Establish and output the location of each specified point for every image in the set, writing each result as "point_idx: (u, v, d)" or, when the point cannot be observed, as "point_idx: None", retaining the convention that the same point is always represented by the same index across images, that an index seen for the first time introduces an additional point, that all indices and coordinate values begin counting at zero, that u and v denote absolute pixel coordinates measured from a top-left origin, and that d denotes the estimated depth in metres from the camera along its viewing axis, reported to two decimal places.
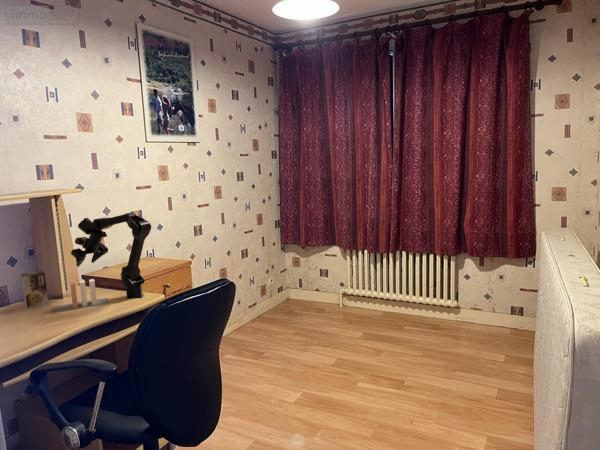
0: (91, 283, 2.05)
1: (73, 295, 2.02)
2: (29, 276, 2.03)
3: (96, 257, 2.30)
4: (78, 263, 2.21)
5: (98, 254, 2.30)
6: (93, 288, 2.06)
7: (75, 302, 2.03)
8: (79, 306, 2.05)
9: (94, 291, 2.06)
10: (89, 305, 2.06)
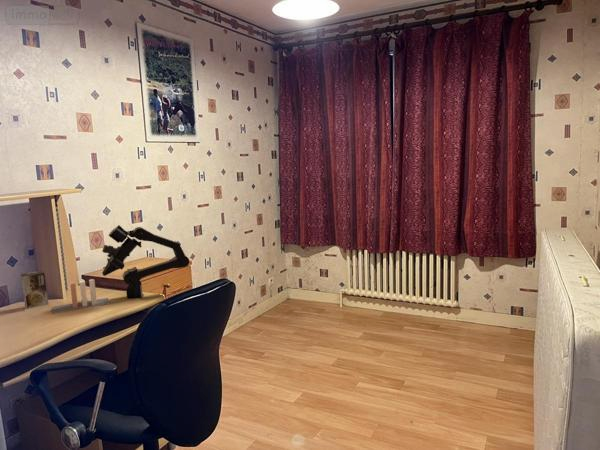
0: (91, 283, 2.05)
1: (73, 295, 2.02)
2: (29, 276, 2.03)
3: None
4: (109, 272, 2.08)
5: None
6: (93, 288, 2.06)
7: (75, 302, 2.03)
8: (79, 306, 2.05)
9: (94, 291, 2.06)
10: (89, 305, 2.06)
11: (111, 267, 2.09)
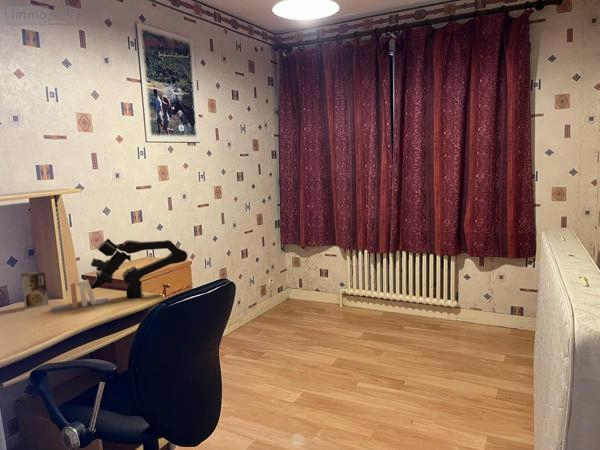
0: (86, 284, 2.04)
1: (73, 295, 2.02)
2: (29, 276, 2.03)
3: None
4: (97, 285, 2.08)
5: None
6: (89, 288, 2.05)
7: (75, 302, 2.03)
8: (79, 306, 2.05)
9: (91, 291, 2.06)
10: (89, 305, 2.06)
11: (99, 280, 2.08)
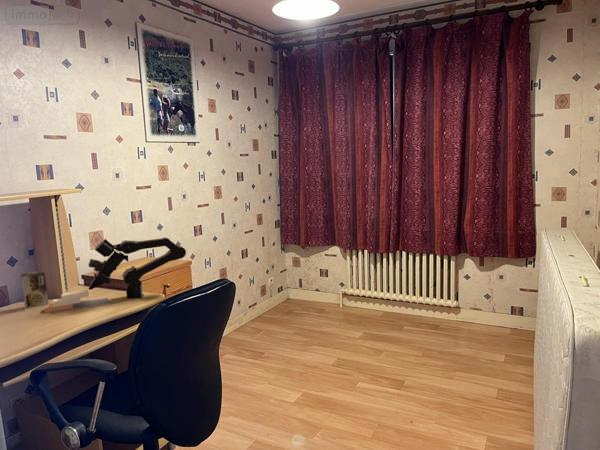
0: (64, 299, 2.01)
1: (58, 308, 2.00)
2: (29, 276, 2.03)
3: None
4: (94, 286, 2.07)
5: None
6: (70, 297, 2.02)
7: (66, 306, 2.01)
8: (79, 306, 2.05)
9: (73, 295, 2.02)
10: (89, 305, 2.06)
11: (97, 281, 2.08)
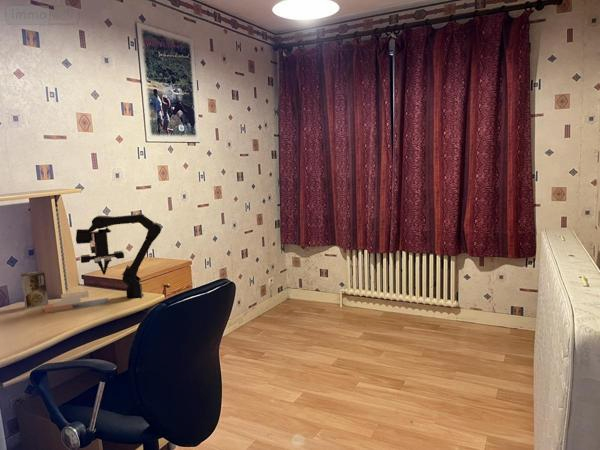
0: (63, 299, 2.01)
1: (58, 308, 2.00)
2: (29, 276, 2.03)
3: (104, 266, 2.11)
4: (101, 269, 2.11)
5: (104, 262, 2.11)
6: (70, 297, 2.02)
7: (66, 306, 2.01)
8: (79, 306, 2.05)
9: (73, 296, 2.02)
10: (89, 305, 2.06)
11: None
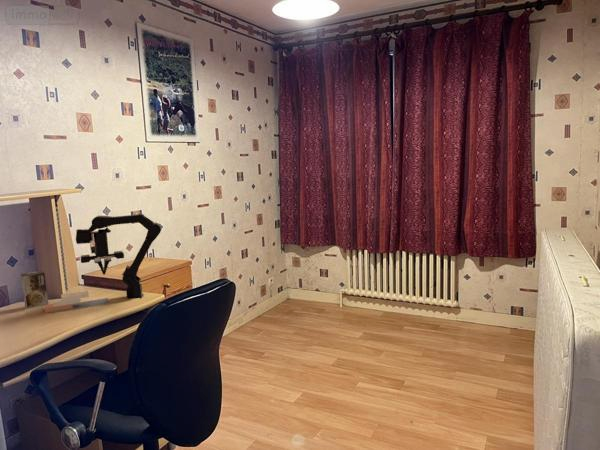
0: (63, 299, 2.01)
1: (58, 308, 2.00)
2: (29, 276, 2.03)
3: (104, 266, 2.11)
4: (101, 269, 2.11)
5: (104, 262, 2.11)
6: (70, 297, 2.02)
7: (66, 306, 2.01)
8: (79, 306, 2.05)
9: (73, 296, 2.02)
10: (89, 305, 2.06)
11: None
